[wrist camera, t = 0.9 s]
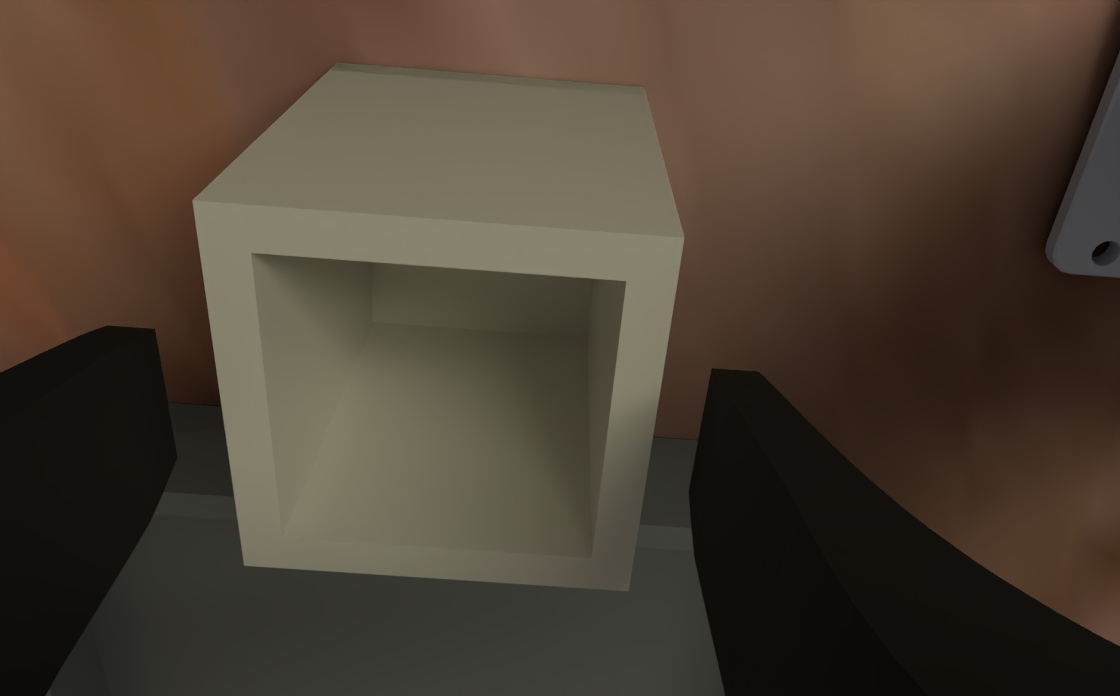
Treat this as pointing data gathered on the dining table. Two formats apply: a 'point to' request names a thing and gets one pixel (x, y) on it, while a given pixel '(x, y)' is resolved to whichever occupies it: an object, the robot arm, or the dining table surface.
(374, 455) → the open box
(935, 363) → the dining table surface
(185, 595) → the tray
